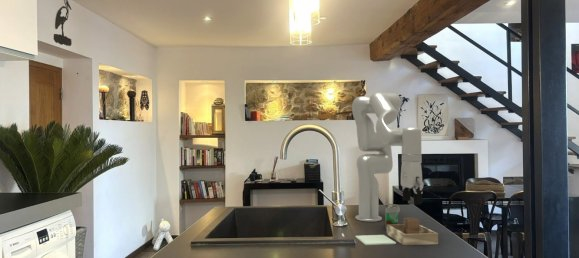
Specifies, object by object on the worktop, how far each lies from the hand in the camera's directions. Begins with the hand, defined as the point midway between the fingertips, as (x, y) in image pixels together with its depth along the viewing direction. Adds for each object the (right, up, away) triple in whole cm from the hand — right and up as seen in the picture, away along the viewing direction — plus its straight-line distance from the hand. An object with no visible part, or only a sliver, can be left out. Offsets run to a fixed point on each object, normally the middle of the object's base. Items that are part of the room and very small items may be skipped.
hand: (412, 202), depth 159 cm
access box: (0, -15, 0) cm, 15 cm away
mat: (-15, -15, -2) cm, 21 cm away
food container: (-3, -15, +18) cm, 24 cm away
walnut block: (0, -15, 0) cm, 15 cm away
